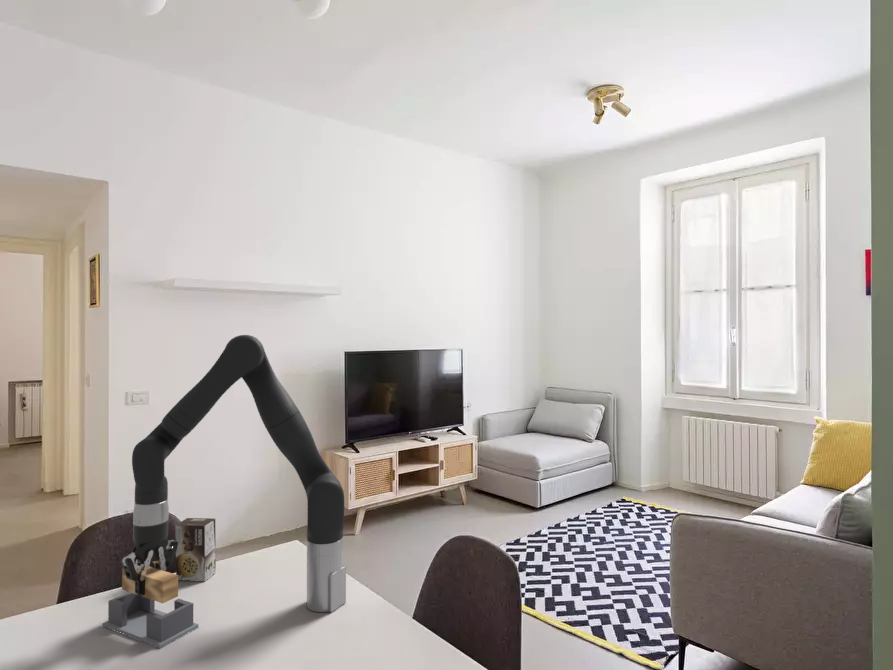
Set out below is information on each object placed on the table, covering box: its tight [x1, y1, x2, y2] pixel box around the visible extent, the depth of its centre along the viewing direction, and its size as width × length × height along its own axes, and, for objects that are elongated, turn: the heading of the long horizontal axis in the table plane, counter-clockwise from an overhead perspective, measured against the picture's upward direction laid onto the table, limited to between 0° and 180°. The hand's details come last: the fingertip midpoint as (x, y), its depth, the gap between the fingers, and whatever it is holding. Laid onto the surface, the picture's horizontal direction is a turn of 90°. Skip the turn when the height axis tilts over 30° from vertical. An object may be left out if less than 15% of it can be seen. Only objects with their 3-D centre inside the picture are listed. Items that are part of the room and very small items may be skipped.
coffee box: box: [175, 517, 217, 582], centre depth 160 cm, size 9×6×16 cm
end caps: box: [102, 591, 199, 649], centre depth 132 cm, size 21×10×6 cm, turn 63°
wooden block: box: [121, 563, 179, 604], centre depth 132 cm, size 15×4×5 cm, turn 63°
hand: (149, 590), depth 132 cm, fingers closed on wooden block, 4 cm apart
